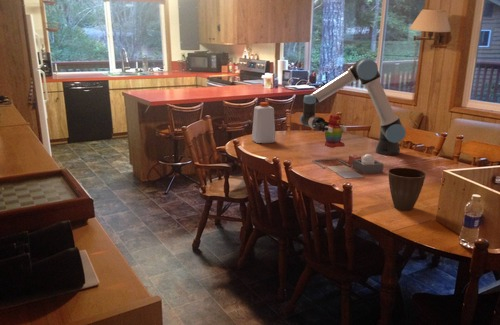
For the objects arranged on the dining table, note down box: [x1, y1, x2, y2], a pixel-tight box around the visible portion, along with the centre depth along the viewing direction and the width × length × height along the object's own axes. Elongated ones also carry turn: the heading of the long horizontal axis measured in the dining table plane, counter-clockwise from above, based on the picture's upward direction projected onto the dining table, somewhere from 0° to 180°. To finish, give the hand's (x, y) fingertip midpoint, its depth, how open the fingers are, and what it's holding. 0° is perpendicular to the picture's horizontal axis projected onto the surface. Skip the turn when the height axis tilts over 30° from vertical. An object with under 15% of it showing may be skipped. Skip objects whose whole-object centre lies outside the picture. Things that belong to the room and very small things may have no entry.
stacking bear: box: [324, 114, 346, 149], centre depth 242 cm, size 11×10×18 cm
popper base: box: [351, 158, 384, 175], centre depth 238 cm, size 12×12×5 cm
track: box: [311, 158, 365, 179], centre depth 242 cm, size 17×37×1 cm, turn 15°
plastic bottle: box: [251, 101, 276, 144], centre depth 304 cm, size 15×15×28 cm
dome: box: [361, 153, 376, 164], centre depth 237 cm, size 7×7×8 cm
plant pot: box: [387, 167, 427, 212], centre depth 182 cm, size 15×15×16 cm
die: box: [347, 154, 362, 166], centre depth 250 cm, size 5×5×6 cm
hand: (338, 129), depth 238 cm, fingers closed on stacking bear, 9 cm apart
